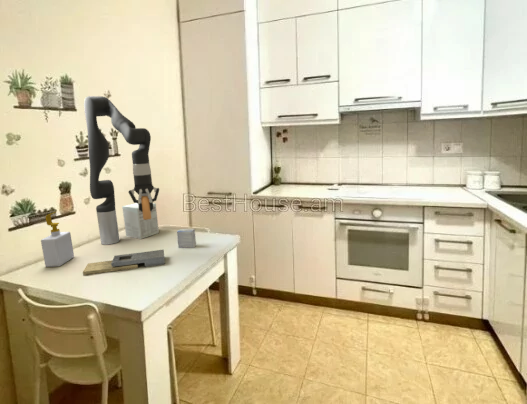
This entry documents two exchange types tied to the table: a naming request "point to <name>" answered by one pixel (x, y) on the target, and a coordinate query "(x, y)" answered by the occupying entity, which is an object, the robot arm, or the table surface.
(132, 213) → the supplement box
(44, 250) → the soap bottle
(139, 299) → the table surface
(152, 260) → the wooden plank with frame
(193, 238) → the medicine box
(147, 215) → the pin
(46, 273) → the table surface
